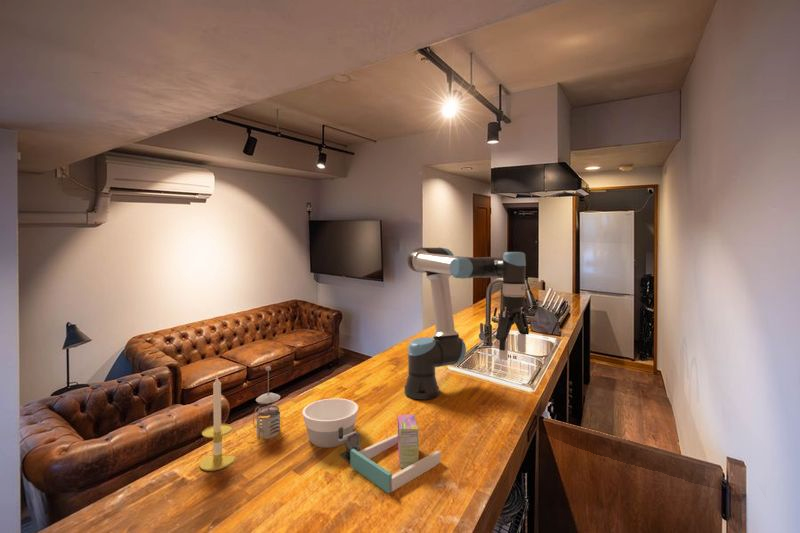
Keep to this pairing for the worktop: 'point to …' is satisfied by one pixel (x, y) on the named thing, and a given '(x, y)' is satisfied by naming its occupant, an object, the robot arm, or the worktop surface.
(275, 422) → the french press
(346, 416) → the bowl
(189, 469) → the worktop surface
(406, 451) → the box
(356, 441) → the winch
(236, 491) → the worktop surface
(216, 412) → the candle
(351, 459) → the bay
